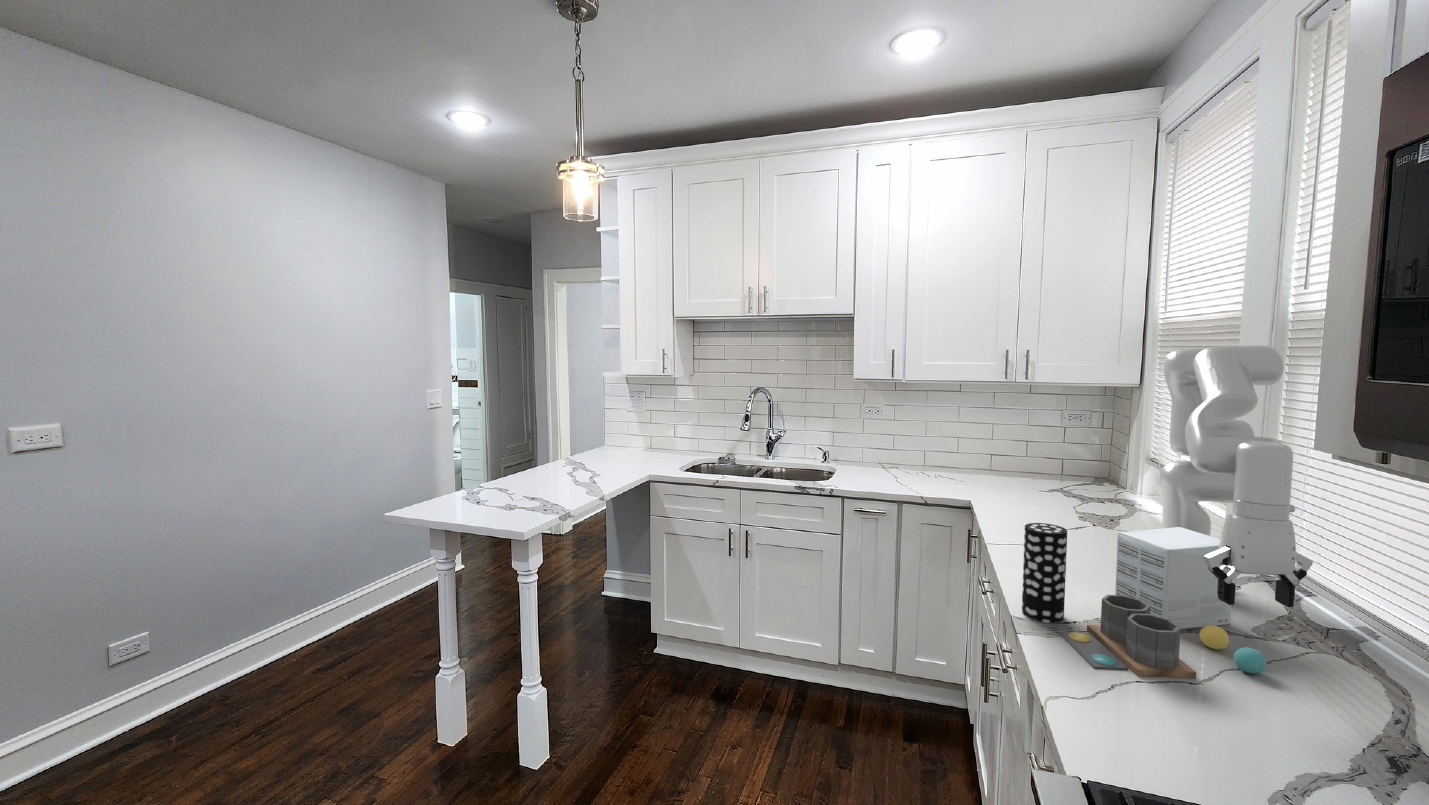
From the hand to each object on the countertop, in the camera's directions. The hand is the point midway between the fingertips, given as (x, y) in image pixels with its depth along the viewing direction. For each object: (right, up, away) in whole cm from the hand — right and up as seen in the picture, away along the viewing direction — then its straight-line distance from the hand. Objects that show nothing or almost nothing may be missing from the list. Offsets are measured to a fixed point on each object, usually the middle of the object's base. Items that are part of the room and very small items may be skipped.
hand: (1254, 603), depth 108 cm
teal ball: (0, -13, +1) cm, 13 cm away
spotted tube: (-24, -12, +26) cm, 38 cm away
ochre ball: (+1, -13, +10) cm, 16 cm away
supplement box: (+4, -12, +25) cm, 28 cm away
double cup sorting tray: (-15, -13, +9) cm, 22 cm away
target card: (-23, -13, +10) cm, 29 cm away
